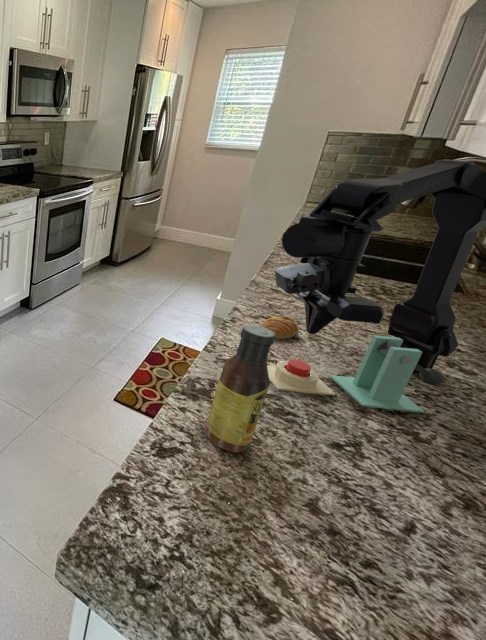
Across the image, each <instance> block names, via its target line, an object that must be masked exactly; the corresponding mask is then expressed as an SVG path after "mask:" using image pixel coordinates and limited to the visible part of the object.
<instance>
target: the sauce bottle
mask: <svg viewBox="0 0 486 640" xmlns="http://www.w3.org/2000/svg"><path fill="white" fill-rule="evenodd" d="M274 342H275V333H274V332H272V331H271V330H269V329H267V328H265V327H262V325H258V324H244V325H243V326H242V328H241V332H240V340H239V344H238V347H237V348H236V353H235V354H234V355H232V356H231V357H230V358H228V359H227V360H226V361H225V362H224V364H223V366H222V370H221V374H220V376H219V379H218V381H217V384H216V385H217V386H216V389H215V391H214V396H213V399H212V403H211V406H210V409H209V413H208V416H207V417H208V418H207V420H206V426H205V427H206V428H205V436H206V437H207V438H208V440H209V441H210V443H212V444H213V445H214V446H216V447H217V448H219V449H222V450H224V451H227V452H229V453H237V454H239V453H243V452H244V451H246V450H247V448H248V447H249V445H250V443H252V440H253V437H254V434H255V430H256V427H257V424H258V421H259V419H260V416H261V412H262V410H263V407H264V402H265V401H266V398H267V397H266V396H267V394H268V392H269V388H270V383H271V382H270V380H269V376H268V369H267V365H268V361H267V360H268V356H269V353H270V350H271V346H272V345H273V344H274Z"/></svg>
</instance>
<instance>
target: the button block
mask: <svg viewBox="0 0 486 640" xmlns="http://www.w3.org/2000/svg"><path fill="white" fill-rule="evenodd" d="M288 361H289V360H280V361H278V362H277V363H276V365H271V364H270V365H269V364H267V369H268V376H269V382H270V383H271V384H272V385H273V386H274V387H275V389H276V390H278V391H288V392H296V393H297V392H298V393H305V394H306V393H307V394H314V395H315V394H316V395H325V396H336V393H335V392H334V391H333V390H332V389H331V387H329V386H328V385H327V384H326V383H325V382H324V381H322V380H321V379H320V378H319V375H318V374H317V372H316V371H315V370H314V369H312V368H311V370H310V372H309V375H308V377H300V376H297V375H294V374H292V373H290V372H288V371H287V370H286V366H287V363H288Z"/></svg>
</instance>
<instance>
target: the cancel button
mask: <svg viewBox="0 0 486 640" xmlns="http://www.w3.org/2000/svg"><path fill="white" fill-rule="evenodd" d="M287 361H288V363H287V366H286V370H287V371H288V372H290V373H292V374H294V375H297V376H300V377H308V375H309V372H310V370H311V369H312V367H311V365H309V364H308V363H306V362H305V361H302V360H300V359H293V358H291V359H289V360H287Z"/></svg>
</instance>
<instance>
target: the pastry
mask: <svg viewBox="0 0 486 640" xmlns="http://www.w3.org/2000/svg"><path fill="white" fill-rule="evenodd" d="M261 324H262V325H261V326H262V327H265V328H267V329H269V330H271V331H272V332H274V333H275V338H274V340H284V339H289V338H290V339H292V338H293V337H295V335H296V334H298V333H299V329H298V326H297V324H296V322H295V320H294V319H293V318H291V317H289V316H286V315H279V314H276V315H274V316H272V317H269V318H267V319H265V320H264V321H263V322H262V323H261Z"/></svg>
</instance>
